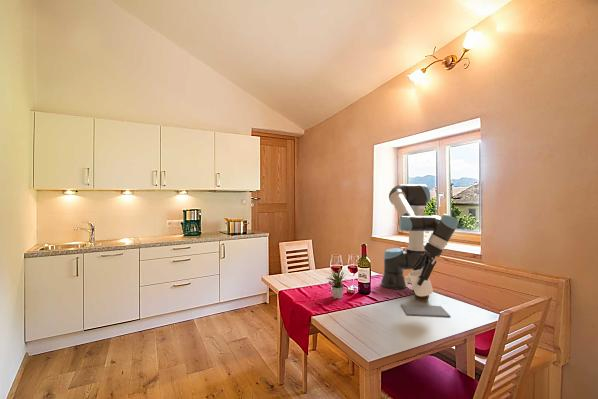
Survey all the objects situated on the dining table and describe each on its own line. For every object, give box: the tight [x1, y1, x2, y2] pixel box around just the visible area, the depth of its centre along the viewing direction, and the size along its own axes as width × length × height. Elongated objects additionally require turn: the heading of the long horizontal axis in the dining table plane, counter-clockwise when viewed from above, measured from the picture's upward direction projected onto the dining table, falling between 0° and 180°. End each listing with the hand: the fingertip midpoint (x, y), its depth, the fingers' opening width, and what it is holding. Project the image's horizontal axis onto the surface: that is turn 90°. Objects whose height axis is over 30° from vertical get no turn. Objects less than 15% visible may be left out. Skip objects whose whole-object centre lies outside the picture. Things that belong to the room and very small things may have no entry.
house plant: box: [324, 267, 348, 299], centre depth 162 cm, size 14×14×16 cm
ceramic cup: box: [407, 281, 432, 303], centre depth 157 cm, size 13×10×10 cm
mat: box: [400, 304, 451, 318], centre depth 141 cm, size 20×12×1 cm, turn 83°
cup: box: [404, 269, 434, 296], centre depth 137 cm, size 8×12×10 cm
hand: (412, 286), depth 137 cm, fingers closed on cup, 8 cm apart
